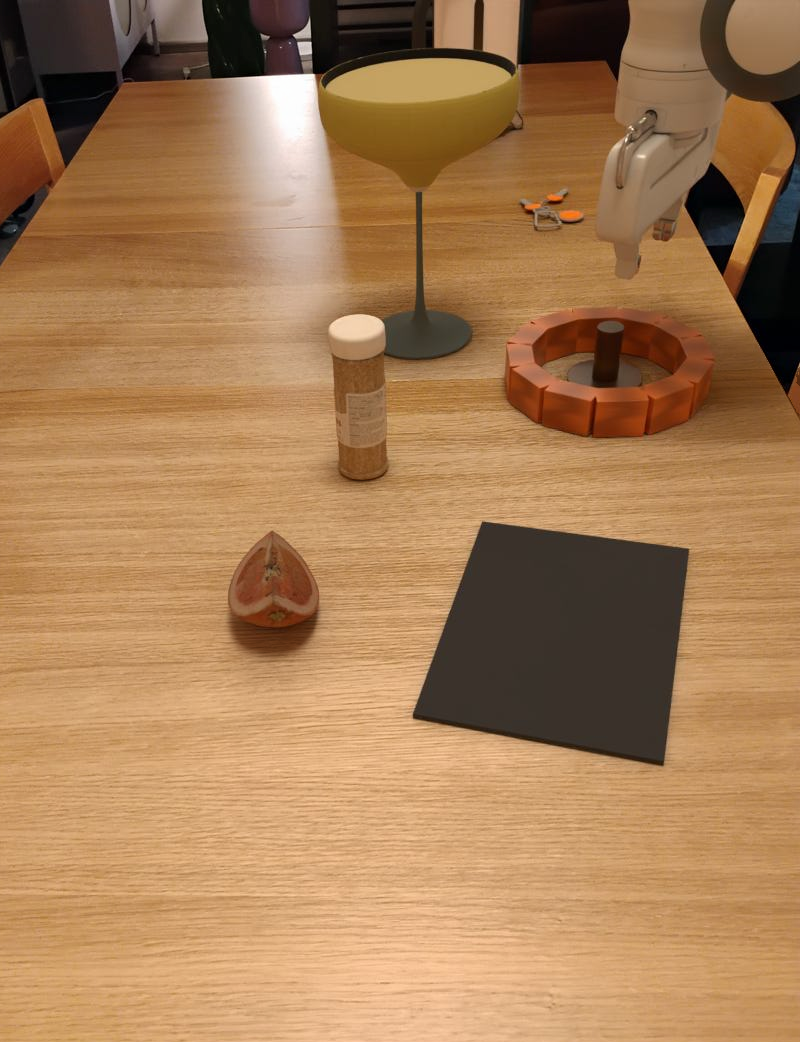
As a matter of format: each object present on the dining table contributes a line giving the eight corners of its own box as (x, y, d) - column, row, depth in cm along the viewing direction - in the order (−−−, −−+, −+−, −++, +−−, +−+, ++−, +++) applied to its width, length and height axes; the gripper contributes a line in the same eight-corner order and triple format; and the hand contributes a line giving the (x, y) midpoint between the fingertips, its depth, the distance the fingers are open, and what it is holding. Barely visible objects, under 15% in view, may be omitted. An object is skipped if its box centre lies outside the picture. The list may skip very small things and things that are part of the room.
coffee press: (420, 117, 163) (418, -114, 143) (523, 113, 161) (535, -123, 141) (412, 154, 151) (409, -94, 131) (523, 150, 148) (537, -103, 128)
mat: (482, 525, 83) (482, 520, 83) (688, 552, 79) (689, 548, 78) (412, 717, 68) (412, 713, 68) (663, 765, 64) (664, 761, 63)
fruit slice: (322, 650, 74) (317, 597, 70) (229, 657, 74) (219, 605, 70) (319, 577, 80) (314, 525, 76) (233, 584, 80) (224, 532, 77)
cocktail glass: (393, 286, 118) (386, 40, 101) (537, 317, 109) (556, 55, 92) (301, 353, 107) (276, 92, 91) (452, 393, 99) (455, 113, 82)
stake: (609, 361, 101) (617, 303, 97) (657, 390, 97) (667, 330, 93) (551, 380, 99) (556, 322, 95) (596, 411, 95) (604, 351, 91)
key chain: (588, 227, 126) (588, 220, 125) (527, 231, 126) (528, 224, 126) (571, 190, 135) (572, 183, 135) (515, 194, 136) (516, 187, 135)
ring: (619, 324, 107) (623, 291, 104) (748, 398, 94) (756, 363, 92) (469, 373, 102) (470, 339, 99) (584, 458, 89) (588, 422, 87)
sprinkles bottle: (338, 455, 92) (327, 313, 83) (388, 452, 92) (383, 310, 83) (338, 484, 89) (327, 339, 80) (390, 481, 89) (386, 336, 80)
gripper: (663, 137, 79) (637, 307, 89) (743, 67, 92) (713, 224, 101) (585, 128, 82) (568, 293, 92) (674, 61, 94) (651, 214, 104)
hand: (645, 256), depth 96 cm, fingers open, 8 cm apart
